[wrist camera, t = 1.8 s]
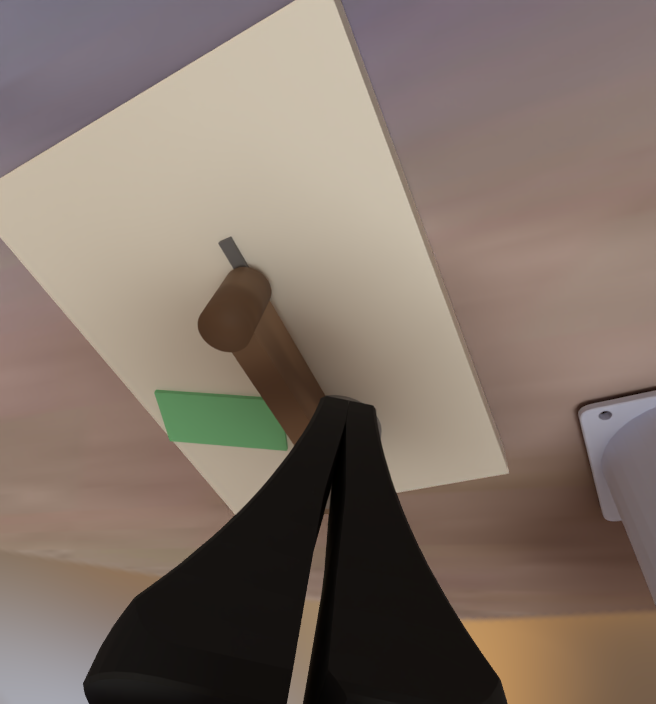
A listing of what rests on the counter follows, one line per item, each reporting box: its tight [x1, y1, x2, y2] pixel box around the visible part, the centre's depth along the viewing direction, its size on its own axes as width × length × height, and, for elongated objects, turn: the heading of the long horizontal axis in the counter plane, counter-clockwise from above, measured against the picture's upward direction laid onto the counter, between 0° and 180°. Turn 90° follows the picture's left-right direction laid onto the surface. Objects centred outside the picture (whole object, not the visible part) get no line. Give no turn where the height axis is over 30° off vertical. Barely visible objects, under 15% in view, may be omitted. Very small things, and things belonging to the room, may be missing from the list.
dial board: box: [0, 0, 509, 515], centre depth 21 cm, size 15×20×2 cm
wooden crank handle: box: [198, 267, 331, 514], centre depth 19 cm, size 10×3×3 cm, turn 25°
